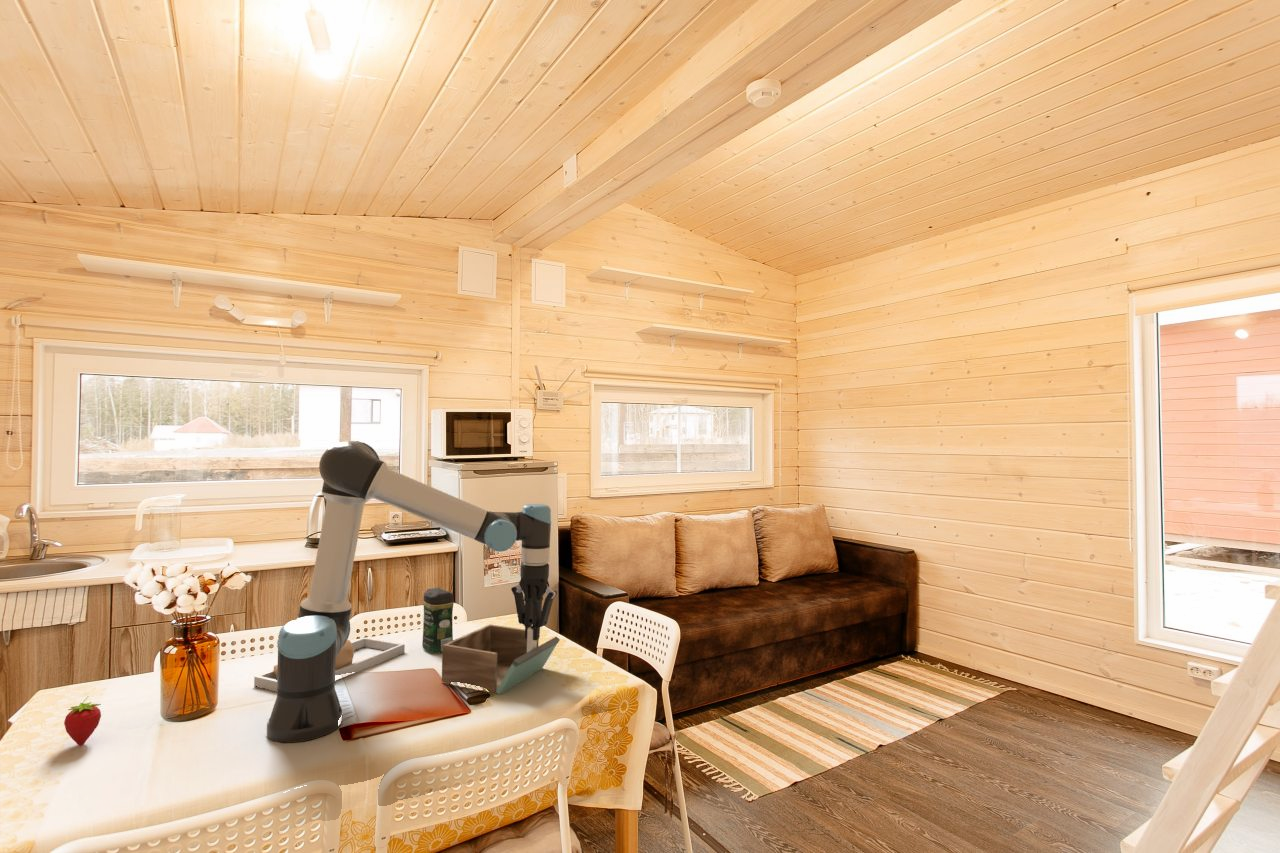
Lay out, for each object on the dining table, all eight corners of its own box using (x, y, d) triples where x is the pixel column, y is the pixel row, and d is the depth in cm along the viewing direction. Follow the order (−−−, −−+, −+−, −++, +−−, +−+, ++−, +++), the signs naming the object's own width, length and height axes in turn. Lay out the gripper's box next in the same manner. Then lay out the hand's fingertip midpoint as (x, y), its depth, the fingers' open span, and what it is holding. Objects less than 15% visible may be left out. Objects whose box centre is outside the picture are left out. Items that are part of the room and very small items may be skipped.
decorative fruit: (100, 734, 141) (101, 687, 141) (100, 747, 135) (101, 698, 135) (63, 742, 137) (65, 694, 137) (62, 755, 131) (64, 706, 131)
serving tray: (298, 696, 162) (298, 686, 162) (254, 686, 168) (254, 676, 169) (404, 652, 197) (404, 644, 197) (364, 645, 203) (364, 637, 203)
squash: (361, 673, 180) (359, 643, 178) (280, 699, 167) (277, 667, 166) (349, 655, 188) (348, 627, 186) (272, 679, 176) (269, 649, 174)
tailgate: (499, 695, 163) (518, 663, 161) (495, 691, 164) (514, 659, 162) (542, 668, 183) (559, 639, 181) (539, 665, 183) (556, 636, 181)
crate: (494, 697, 164) (495, 654, 164) (441, 687, 170) (442, 645, 170) (537, 670, 183) (538, 631, 183) (489, 662, 190) (490, 624, 190)
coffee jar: (418, 648, 201) (419, 588, 201) (442, 643, 206) (443, 584, 206) (431, 656, 194) (433, 594, 194) (456, 650, 199) (457, 590, 199)
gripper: (563, 563, 173) (559, 651, 173) (521, 557, 178) (518, 643, 178) (549, 567, 167) (545, 659, 166) (506, 562, 171) (503, 651, 171)
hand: (531, 651), depth 172 cm, fingers closed
